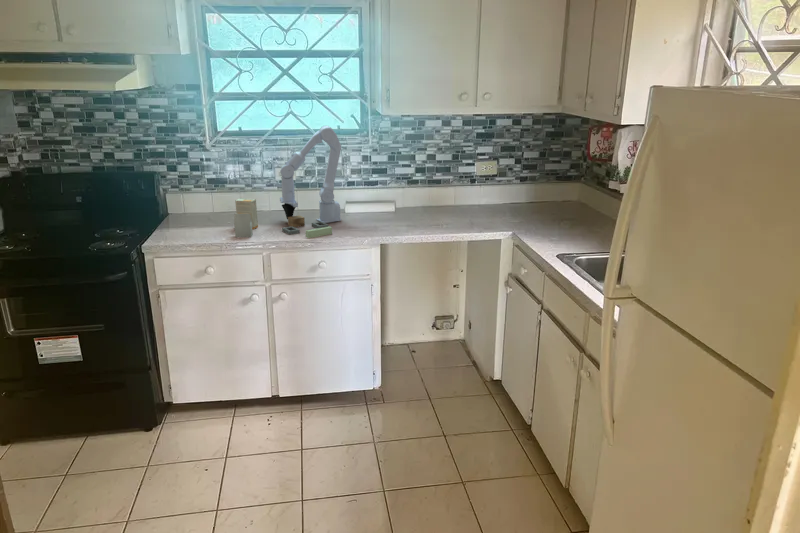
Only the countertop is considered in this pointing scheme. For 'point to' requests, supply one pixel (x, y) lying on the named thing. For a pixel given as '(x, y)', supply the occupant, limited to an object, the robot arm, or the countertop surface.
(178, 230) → the countertop surface
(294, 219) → the tan block
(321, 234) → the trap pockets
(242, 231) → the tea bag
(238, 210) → the supplement box
